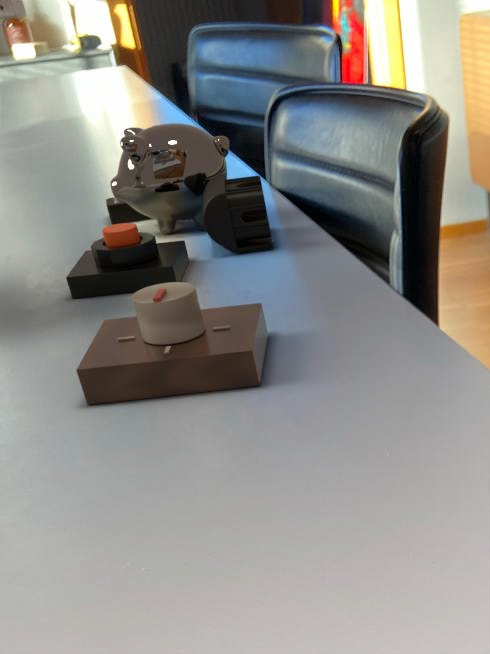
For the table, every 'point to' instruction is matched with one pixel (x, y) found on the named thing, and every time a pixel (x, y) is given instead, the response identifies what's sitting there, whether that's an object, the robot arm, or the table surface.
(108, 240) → the button
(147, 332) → the dial knob
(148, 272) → the box
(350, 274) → the table surface
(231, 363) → the dial panel
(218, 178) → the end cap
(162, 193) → the piggy bank
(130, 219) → the multiport hub
